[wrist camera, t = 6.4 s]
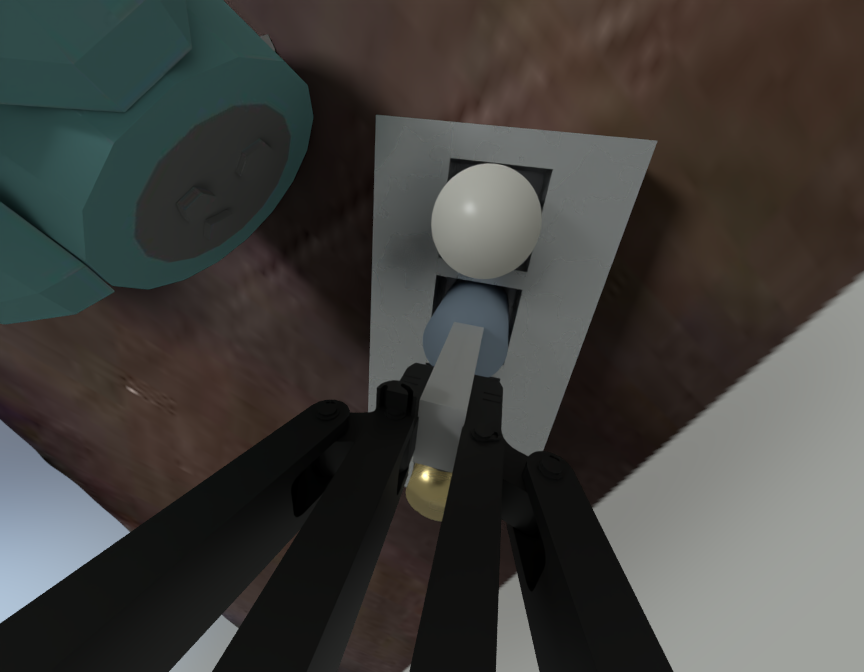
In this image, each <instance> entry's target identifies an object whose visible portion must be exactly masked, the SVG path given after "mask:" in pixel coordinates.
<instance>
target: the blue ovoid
mask: <svg viewBox="0 0 864 672" xmlns="http://www.w3.org/2000/svg"><path fill="white" fill-rule="evenodd" d="M454 322H458V323H463V324H468V325H473V326H479V327H484V330H483V335H482V340H481V345H480V350H479V355H478V359H477V364H476V369H475V374H474V375H479V376H483V377H488V378H489V377H490V376H492V375H494V374H495V373H496V372H497V371H498V370H499V369H500V368H501V366H502V365H503V363H504V361H505V359H506V356H507V352H508V322H509V303H508V298H507V295H506V293H505V291H504V290H503V289H502V287H501V286H498V285H492V284H486V283H480V282H474V281H469V280H463V279H460V280H458V281H457V282H456V283H454V284H453V285H452V286H451V287H450V289H449V290H448V292H447V293H446V295H445V297H444V298H443V300H442V301H441V303H440V305H439V306H438V308H437V309H436V311H435V313H434V314H433V316H432V317H431V319H430V320H429V322H428V324H427V326H426V328H425V330H424V334H423V349H424V353H425V355H426V358H427V359H428V361H429V363H430V364H431V365H432V366H435V364H436V362H437V359H438V357H439V355H440V353H441V350H442V348H443V346H444V344H445V341H446V339H447V337H448V335H449V332H450V330H451V328H452V325H453V323H454Z"/></svg>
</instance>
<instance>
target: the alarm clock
mask: <svg viewBox="0 0 864 672" xmlns="http://www.w3.org/2000/svg"><path fill="white" fill-rule="evenodd" d="M312 122H313V111H312V105H311V100H310V94H309V89H308V85H307V84H306V83H305V82H304V81H303V80H302V79H301V78H300V77H299V76H298V75H297V74H296V73H295V72H294V71H293V70H292V69H291V68H290V67H289V66H288V64H287V63H286V62H285V61H284V60H283V59H282V58H281V57H280V56H279V55H278V54H277V53H276V52H275V48H274V46H273V44H272V42H271V40H270V37H269V35H268V34H267V35H264V36H260V37H259V36H258V35H257V34H256V33H255V32H254V31H253V30H252V29H251V28H250V27H249V26H248V25H247V24H246V23H245V22H244V21H243V20H242V19H241V18H240V17H239V16H238V15H237V14H236V13H235V12H234V11H233V10H232V9H231V8H230V7H229V6H228V5H227V4H226V3H225V2H224V1H223V0H0V323H1V324H11V323H18V322H25V321H32V320H39V319H47V318H54V317H61V316H68V315H75V314H77V313H79V312H80V311H82V310H84V309H86V308H87V307H89V306H91V305H93V304H94V303H96V302H98V301H99V300H101V299H103V298H105V297H106V296H108V295H110V294H112V293H113V292H115V291H114V290H113V289H112V288H111V287H110V286H109V285H107V284H106V283H105V282H104V281H103V280H105V281H106V282H108V283H109V284H111V285H112V286H119V287H128V288H138V289H147V290H149V289H153V288H156V287H160V286H164V285H167V284H171V283H175V282H178V281H182V280H185V279H187V278H189V277H191V276H193V275H195V274H196V273H198V272H200V271H202V270H204V269H206V268H208V267H209V266H211V265H213V264H215V263H217V262H218V261H220V260H221V259H222V258H224V257H225V256H226V255H227V254H229V253H230V252H231V251H232V250H234V249H235V248H236V247H237V246H239V245H240V244H241V243H243V242H244V241H245V240H246V239H248V238H249V236H250V235H251V234H252V233H253V232H254V231H255V230H256V229H257V228H258V227H259V226H260V225H261V224H262V222H263V221H264V220H265V219H266V218H267V217H268V216H269V215H270V214H271V213H272V212H273V210H274V209H275V207H276V206H277V204H278V203H279V202H280V200H281V199H282V197H283V196H284V194H285V193H286V191H287V190H288V188H289V187H290V185H291V184H292V182H293V181H294V178H295V176H296V174H297V172H298V169H299V167H300V165H301V163H302V161H303V158H304V156H305V154H306V152H307V149H308V143H309V138H310V133H311V128H312ZM97 275H98V276H99V277H98V276H97ZM101 278H102V279H103V280H102V279H101Z"/></svg>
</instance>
